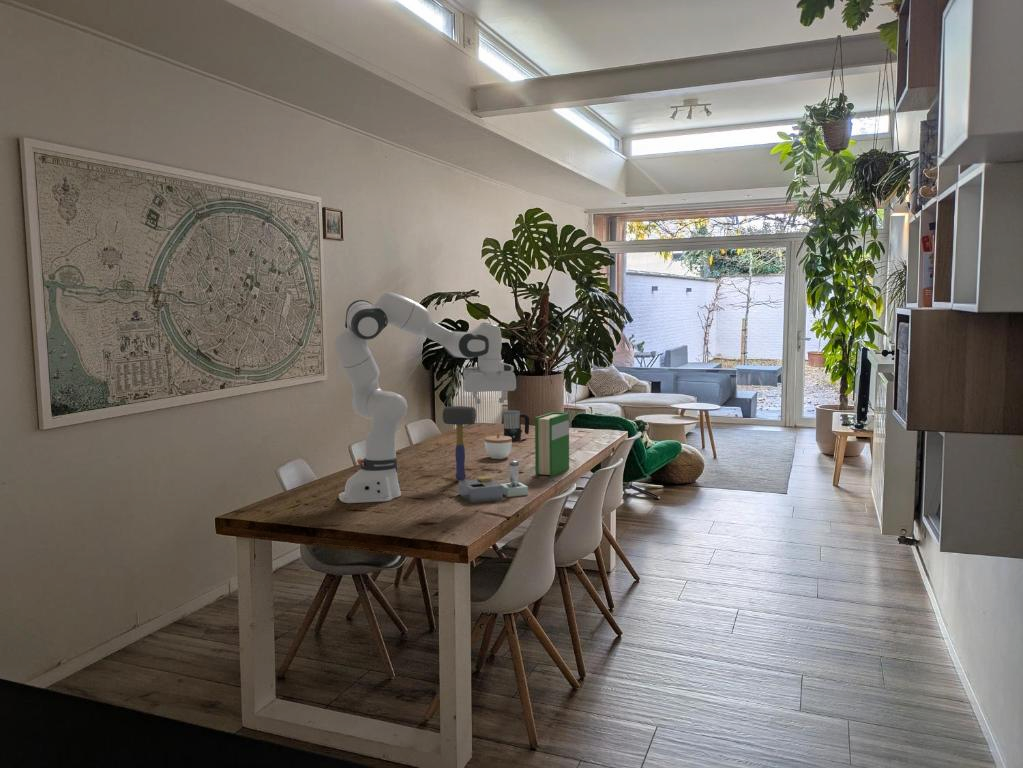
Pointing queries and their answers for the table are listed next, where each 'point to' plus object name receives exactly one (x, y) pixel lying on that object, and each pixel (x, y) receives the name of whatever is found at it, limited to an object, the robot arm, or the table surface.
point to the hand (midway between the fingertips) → (489, 403)
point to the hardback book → (552, 443)
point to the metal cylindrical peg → (514, 473)
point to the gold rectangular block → (484, 478)
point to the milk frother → (514, 424)
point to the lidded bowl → (498, 446)
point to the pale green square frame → (514, 490)
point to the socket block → (480, 490)
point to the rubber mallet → (459, 432)
